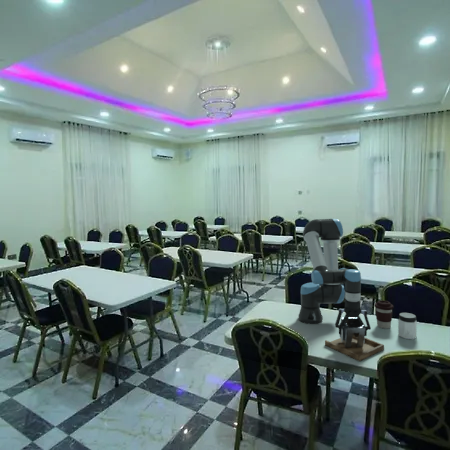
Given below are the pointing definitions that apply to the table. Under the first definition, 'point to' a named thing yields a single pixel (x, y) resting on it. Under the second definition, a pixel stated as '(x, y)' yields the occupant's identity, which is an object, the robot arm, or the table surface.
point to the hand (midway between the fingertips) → (352, 341)
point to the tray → (356, 348)
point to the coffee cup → (384, 314)
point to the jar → (407, 325)
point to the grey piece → (353, 332)
